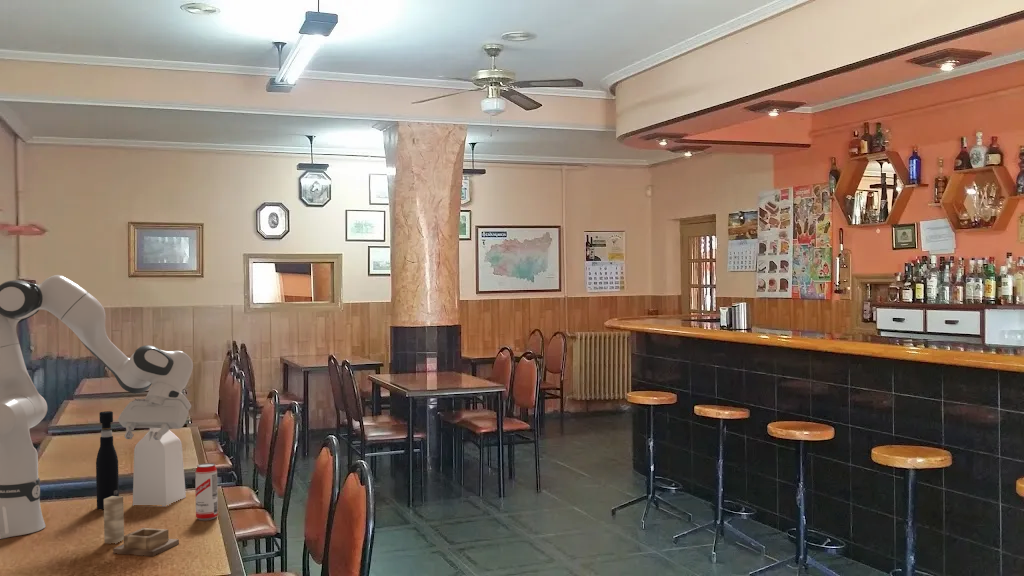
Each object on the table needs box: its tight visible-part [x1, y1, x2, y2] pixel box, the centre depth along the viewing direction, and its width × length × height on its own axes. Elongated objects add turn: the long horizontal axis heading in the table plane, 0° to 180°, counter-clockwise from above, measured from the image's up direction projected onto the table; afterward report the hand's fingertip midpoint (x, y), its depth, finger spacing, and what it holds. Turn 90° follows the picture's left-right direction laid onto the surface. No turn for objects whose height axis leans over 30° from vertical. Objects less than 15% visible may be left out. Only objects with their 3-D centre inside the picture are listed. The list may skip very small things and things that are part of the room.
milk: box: [132, 428, 187, 507], centre depth 292 cm, size 12×12×26 cm
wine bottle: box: [95, 410, 120, 510], centre depth 285 cm, size 6×6×30 cm
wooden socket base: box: [112, 527, 180, 557], centre depth 241 cm, size 12×11×4 cm
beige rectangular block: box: [103, 495, 125, 545], centre depth 248 cm, size 4×4×12 cm
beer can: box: [194, 462, 219, 521], centre depth 271 cm, size 6×6×16 cm
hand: (141, 438), depth 260 cm, fingers open, 8 cm apart
